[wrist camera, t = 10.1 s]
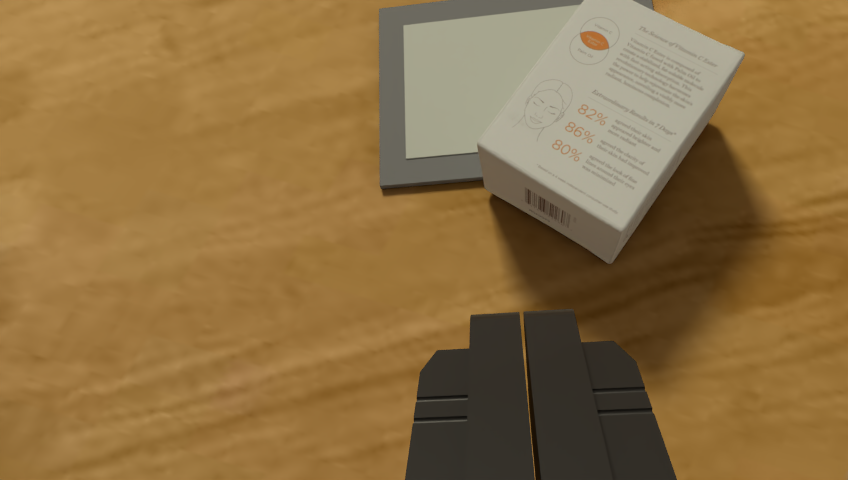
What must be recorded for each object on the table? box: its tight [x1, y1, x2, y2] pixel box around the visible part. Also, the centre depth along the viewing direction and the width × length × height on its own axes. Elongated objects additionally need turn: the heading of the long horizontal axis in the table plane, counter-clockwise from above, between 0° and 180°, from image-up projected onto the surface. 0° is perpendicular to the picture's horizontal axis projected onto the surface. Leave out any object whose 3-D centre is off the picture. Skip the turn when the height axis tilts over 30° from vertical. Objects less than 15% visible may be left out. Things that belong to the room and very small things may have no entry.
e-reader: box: [379, 0, 654, 189], centre depth 39 cm, size 16×12×1 cm
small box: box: [477, 0, 745, 264], centre depth 34 cm, size 8×6×10 cm
